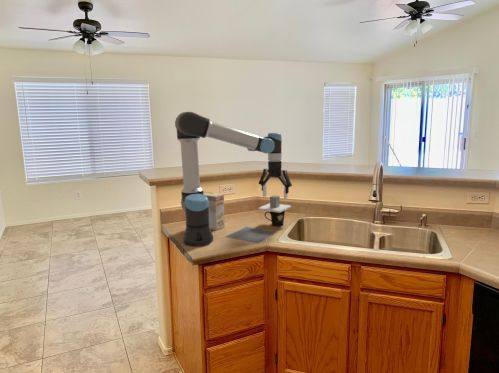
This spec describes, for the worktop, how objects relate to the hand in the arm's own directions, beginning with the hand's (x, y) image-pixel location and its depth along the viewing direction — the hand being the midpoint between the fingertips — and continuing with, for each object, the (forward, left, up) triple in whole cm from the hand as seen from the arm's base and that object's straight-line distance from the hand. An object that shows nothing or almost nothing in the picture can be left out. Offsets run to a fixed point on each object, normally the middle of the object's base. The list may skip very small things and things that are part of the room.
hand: (274, 197), depth 208 cm
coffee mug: (0, 0, -16) cm, 16 cm away
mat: (-2, -22, -16) cm, 27 cm away
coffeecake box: (-30, -21, -16) cm, 40 cm away
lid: (0, 0, -6) cm, 6 cm away
